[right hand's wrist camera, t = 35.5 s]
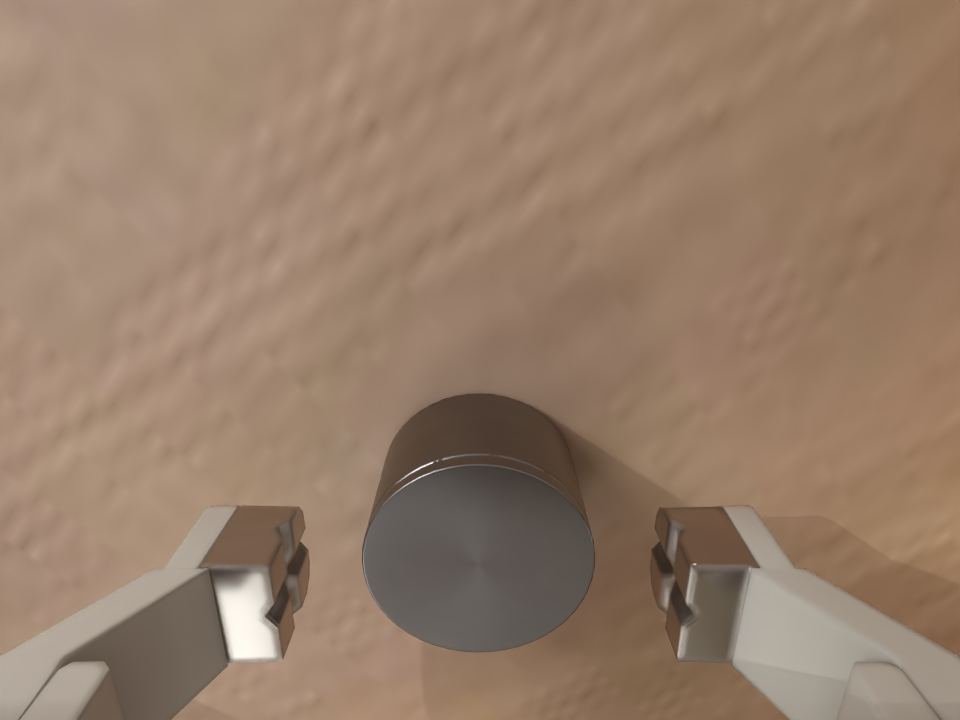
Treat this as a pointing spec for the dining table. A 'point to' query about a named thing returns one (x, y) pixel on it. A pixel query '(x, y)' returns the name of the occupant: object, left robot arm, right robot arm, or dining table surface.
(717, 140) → the dining table surface
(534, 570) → the cap
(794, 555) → the dining table surface
